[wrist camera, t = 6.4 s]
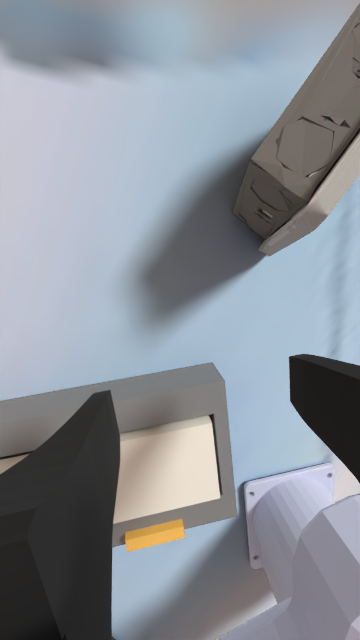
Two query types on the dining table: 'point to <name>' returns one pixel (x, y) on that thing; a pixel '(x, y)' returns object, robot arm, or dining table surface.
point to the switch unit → (136, 413)
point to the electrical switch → (308, 150)
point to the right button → (166, 468)
